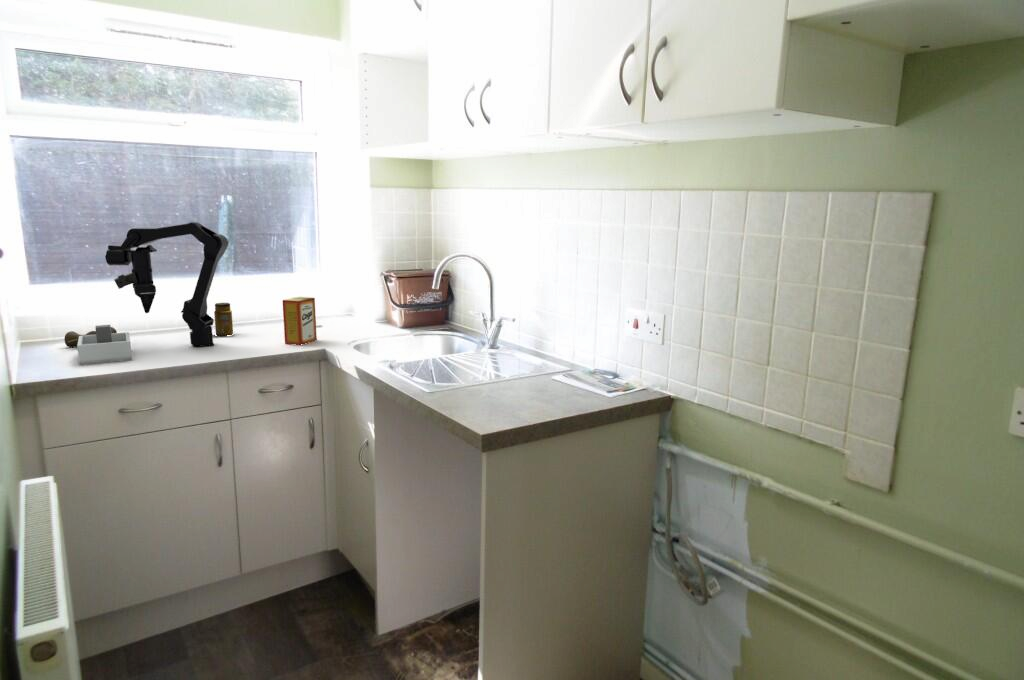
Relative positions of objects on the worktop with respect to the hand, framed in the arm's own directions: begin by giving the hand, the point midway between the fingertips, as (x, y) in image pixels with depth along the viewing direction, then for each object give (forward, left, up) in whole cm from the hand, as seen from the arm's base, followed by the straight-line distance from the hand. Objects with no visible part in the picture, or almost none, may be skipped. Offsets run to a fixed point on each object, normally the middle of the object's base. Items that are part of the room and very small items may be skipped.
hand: (146, 311), depth 231 cm
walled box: (+13, +14, -12) cm, 23 cm away
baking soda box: (-47, +19, -12) cm, 52 cm away
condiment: (-25, -8, -12) cm, 29 cm away
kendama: (+17, -10, -12) cm, 24 cm away
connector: (+13, +14, -11) cm, 22 cm away
